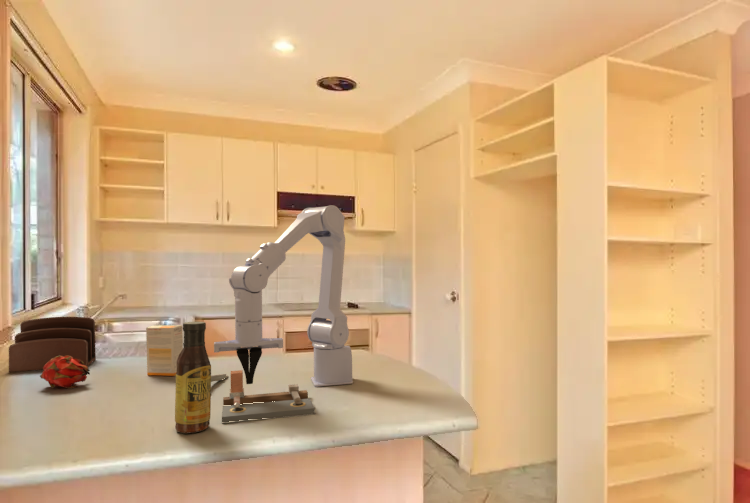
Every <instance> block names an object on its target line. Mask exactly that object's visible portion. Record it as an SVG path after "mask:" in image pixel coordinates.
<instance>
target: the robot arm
mask: <svg viewBox="0 0 750 503" xmlns="http://www.w3.org/2000/svg"><path fill="white" fill-rule="evenodd" d="M296 215H297V216H296V219H295V220H294V221H293V222H292V223H291V224H290V225H289V226H288V227H287V229H286V230H284V232H283V233H282V234H281V235H280V236H279V237H278V239H276V240H275V242H272V241H269V242H266V243H262V244H261V245H260V246H259V248H260V249H259V250H258V251H257V252H255V254H254V255H252V257H248V258H247V259H246V260H245V264H244V265H238V266H237V267H236V268H234V269H233V271H232V273H231V277H229V278H228V282H229V285H230V287H231V289H232V290H233V296H234V326H235V327H234V328H235V329H234V330H235V332H234V333H235V334H234V335H235V336H234V337H235V338H234V339H231V340H223V341H214V342H213V353H220V352H233V351H236V355H237V358H238V360H239V362H240V364H241V367H242V368H243V369H242V370H243V372H244V376H245V383H246V385H252V384H253V382H254V377H255V372H256V369H257V366H258V363H259V362H260V359H261V357H262V354H263V350H265V349H277V348H278V349H283V348H284V338H283V337H273V338H272V337H271V338H270V337H269V338H267V337H266V338H265V337H263V290H264V289H266V288H267V286H268V282H269V277H271V275H272V274H274V273H275V271H276V270H277V269H278V268H280V266H281V265H282V264H283V263H284V262H285V261H286V259H287V258H286V256H287V255H286V253H287V252H288V251H289V250H291V249H292V248H293V247H294V246H296V244H297V243H298V242H300V241H301V240H302V239H303V238H304V237H306V235H308V234H310V235H311V236H312V237H313V238H315V239H317V240H318V241H319V243H320V244H322V260H321V272H320V280H319V281H320V282H319V283H320V284H319V295H318V306H317V308H316V309H314V311H313V312H312V313H311V315H310V322H309V323H308V326H307V328H306V329H307V330H306V333H307V334H306V335H307V338H308V340H309V341H310V342H311V346H312V347H313V376H311V377H310V380H311V382H312V383H313V385H314V387H327V386H336V385H337V386H338V385H350V384H353V383H354V381H353V356H352V355H353V354H352V349H351V346H350V345H346V343H347V342H348V339H349V335H350V330H349V326H348V316H347V315H346V314H345V313H344V312H343V311H342V309H341V302H342V288H343V274H344V265H345V264H344V262H345V261H344V260H345V250H346V247H345V246H346V236H345V231H344V228H345V215H344V214H343V212H342V211H341V210H340V208H339V207H338V206H336V205H334V204H333V205H331V204H329V205H327V206H318V207H317V206H316V207H306V208H304V209H303V210H302V211H301V212H300V213H298V214H296ZM262 349H263V350H262Z"/></svg>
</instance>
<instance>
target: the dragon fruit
mask: <svg viewBox="0 0 750 503" xmlns="http://www.w3.org/2000/svg"><path fill="white" fill-rule="evenodd" d="M81 364H82V365H81ZM43 369H44V370H42V371H41V374H40V375H39V377H40V379H43V380H45V381H46V382H48V385H49V386H50V388H51V389H53V388H57V387H62V388H66V389H74V388H76V387H78V385H76V383H81V382H82V383H83V382H85V381H86V380H87V378H88V376H87V375H90V372H91V370H90V369H89V366H88V367H87V366H85V365H84V362H83V361H81V360H80V359H73V357H71V356H69V355H66V356H64V357H63V356H61V355H59V356H56V357H55V358H52V359H51V360H50V361H49V362H47V363H46V364H45V366H44V367H43ZM74 384H75V385H74Z"/></svg>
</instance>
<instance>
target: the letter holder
mask: <svg viewBox="0 0 750 503" xmlns="http://www.w3.org/2000/svg"><path fill="white" fill-rule="evenodd" d="M95 324H96V321H95V319H94V318H91V317H83V316H51V317H42V318H34V319H33V318H32V319H27V320H23V321H22V322H21V323H20V332H17V333H16V334H15V336H14V343H12V344H10V345H9V346H8V372H9V373H12V372H13V373H16V372H30V371H43V370H44V369H43V367H44V366H45V364H46V363H47V362H49V361H50V360H51V359H52V358H55V357H56V356H59V355H61V356H63V357H64V356H66V355H69V356H71V357H73V359H80V360H81V361H83V362H84V365H85V366H87V367H88V368H89V366H90V365H91V364H92V363H94V362H95V361H96V359H97V358H96V357H97V356H96V325H95ZM81 365H82V364H81Z"/></svg>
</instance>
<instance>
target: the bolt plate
mask: <svg viewBox="0 0 750 503" xmlns="http://www.w3.org/2000/svg"><path fill="white" fill-rule="evenodd" d="M221 411H222V412H221V423H222V422H229V421H239V420H248V419H260V420H263V419H262V418H271V419H277V418H278V419H279V418H289V417H299V416H311V415H315V414H316V407H315V405H314V404H313V401H312V400H311V398H309V397H308V399H301V404H295V402H294V400H286V401H275V402H264V403H253V404H242V405H240V408H238V409H235V408H234V405H231V406H222V410H221Z"/></svg>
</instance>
